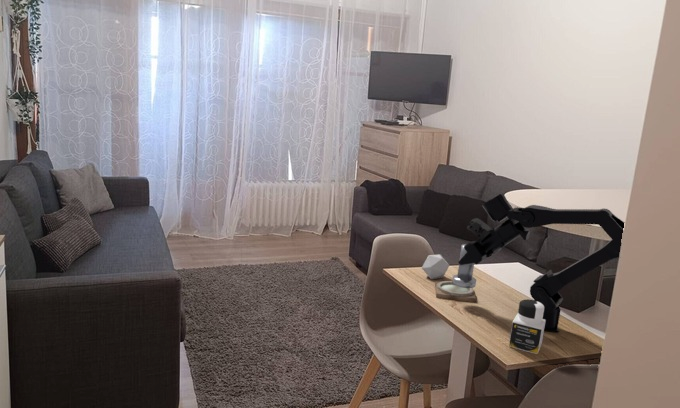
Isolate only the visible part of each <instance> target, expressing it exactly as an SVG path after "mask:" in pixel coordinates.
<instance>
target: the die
mask: <svg viewBox="0 0 680 408" xmlns="http://www.w3.org/2000/svg"><path fill="white" fill-rule="evenodd" d="M449 267H450V264H449V263H448V262H447V261H446V259H445V258H444V257H443V255H442V254H439V253H438V254H430V255H429V254H428V256H427V258H426V259H425V261H424V262H423V264H422V266H421V270H423V271H424V273H425V274H426V275H427V277H429V279H430V280H436V279H443V278H444V276H445V275H446V273H447V271H448V269H449Z"/></svg>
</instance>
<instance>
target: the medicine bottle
mask: <svg viewBox="0 0 680 408" xmlns="http://www.w3.org/2000/svg"><path fill="white" fill-rule="evenodd" d="M518 304H519V305H518V309H517V310H518V311H517V314H516V316H515V317H514V319H513V320H512V324H511V329H510V337H509V344H508V346H509V348H512V349H516V350H520V351H523V352H527V353H531V354H533V355H534V354H535V355H538V354H539V352H540V349H541V347H542V344H543V340H544V333H545V330H544V327H545V321H546V320H545V319H543V313H544V306H543V304H541V303H540V302H538V301H535V300H534V299H523V300H520V301H519V303H518Z"/></svg>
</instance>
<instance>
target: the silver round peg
mask: <svg viewBox="0 0 680 408" xmlns="http://www.w3.org/2000/svg"><path fill="white" fill-rule="evenodd" d="M466 244H467V243H462V244H461V246H460V247H461V248H460V254H459V261H460V260H461V258H462V257H463V256H464V255H465V254H466V253H467V251H466V250H465V248H464V246H465V245H466ZM459 261H458V262H459ZM474 267H475V263H471V264H465V265H460V264H459V263H458V269H457V274H453V275H452V280H451V281H452V283H453V284H454V285H456V286H459V287H463V288H473V289H474V288H475V287H476V286H477V279H476V278H475V277H473V276H474V275H473V274H474Z"/></svg>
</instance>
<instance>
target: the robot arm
mask: <svg viewBox="0 0 680 408" xmlns="http://www.w3.org/2000/svg"><path fill="white" fill-rule="evenodd" d="M481 206H482V208H483V209H484V211H485V212H486V213H487V215H488V216H489V218H490V219H491V220H492V221H493V222H495V223H496V222H497V223H500V224H499V225H497V226H494V227H493V228H492V227H490V226H489V225H488V224H487V223H485V222H484V221H483V220H481V219H480V218H478V217H475V218H472V219H471V221H470V222H469V223H468V225H467V227H466V229H467V230H468V231H469V232H472V233H473V234H474V235H476V236H477V238H476V239H477V240H471V241H470V242H468V243H465V244H466V245H465V246H464V248H465V250H466V251H467V253H466V254H465V255H464V256H463V257H462V258H461V260H460V259H459V260H460V261H458V265H459V264H460V265H465V264H471V263H474V265H478V264H480V263H481V262H483V261H485V260H486V258H490V257H491V256H492V255H493V254H494V255H495V254H497V253H498V252H500V251H501V250H503V249H502V248H504V247H505V246H507V245H509V244H510V243H511V242H513V241H514V240H516V239H517V238H519V237H521V238H522V239H523V240H524V241H526V240H529V238H530V233H531V228H538V227H544V226H548V225H549V226H550V225H554V224H555V225H557V224H559V225H598V226H599V227H601V228H602V229H603V231H604V232H605V233H606V234H607V236H609V238H610V240H609V241H608V242H606V244H605V245H603V246H602V247H600V248H599V249H597V250H596V251H593V252H591V253H590V254H588V255H586V256H584V257H583V258H581V259H580V260H578V261H576V262H574V263H572V264H570V265H569V266H568V267H566V268H564V269H562V270H561V271H558V272H554V273H553V270H552V269H549V270H548V271H546V273H545V274H541V275H539V276H537V278H535V279H534V280H533V283H532V285H531V286H530V288H529V294H530V297H531V298H532V300H535V301H538V302H540V303H541V304H543V306H544V313H543V319H545V320H546V321H545V327H544V332H545V331H547V332H553V333H554V332H555V333H559V332H560V330H559V327H558V326H559V321H560V317H561V308H560V306H559V305H560V304H562V301H563V300H564V298H563V296H562V295H561V294H560V291H561V290H562V289H563V288H564V287H565V286H567V285H568V284H571V283H573V282H574V281H576V280H577V279H579V278H581V277H583V276H585V275H586V274H588V273H590V272H591V271H594V270H596V269H597V268H599V267H601V266H602V265H604V264H605V263H608V262H610V261H613V260H615V259H619V252H620V246H621V239H622V233H623V228H624V223H625V221H623V220H622V219H621V218H620V217H618V216H616V215H615V214H614V213H613V212H612V211H611V210H609V209H608V208H600V209H597V208H596V209H594V208H593V209H589V208H588V209H582V208H581V209H577V208H575V209H573V208H571V209H570V208H569V209H567V208H565V209H563V208H562V209H561V208H560V209H558V208H557V209H556V208H552V207H548V206H542V205H536V204H531V205H528V206H526V207H518V206H517V207H514V208H513V206H512V205H511V203H510V202H509V200H507V198H506V195H505V194H504V193H500V194H498V195H496V196H494V197H493V198H491V199H488V200H487V201H486V202H485V203H483V204H481ZM506 218H507V219H506ZM502 221H503V222H502ZM501 222H502V223H501Z"/></svg>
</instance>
